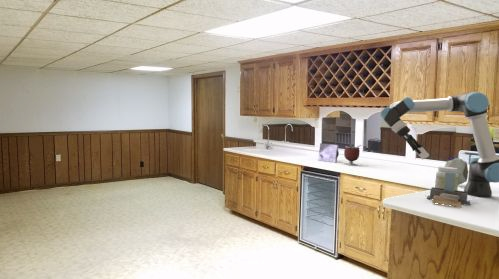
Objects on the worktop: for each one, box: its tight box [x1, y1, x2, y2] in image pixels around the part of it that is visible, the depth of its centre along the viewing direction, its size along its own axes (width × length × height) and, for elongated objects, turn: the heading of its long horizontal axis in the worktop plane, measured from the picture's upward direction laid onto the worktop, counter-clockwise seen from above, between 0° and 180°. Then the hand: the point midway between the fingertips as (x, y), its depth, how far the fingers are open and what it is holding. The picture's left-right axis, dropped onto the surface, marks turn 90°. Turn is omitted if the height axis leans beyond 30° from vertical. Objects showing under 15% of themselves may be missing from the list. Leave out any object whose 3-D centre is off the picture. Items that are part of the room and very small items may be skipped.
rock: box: [443, 157, 469, 186], centre depth 273 cm, size 27×6×20 cm, turn 1°
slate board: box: [444, 172, 456, 192], centre depth 213 cm, size 3×5×16 cm, turn 59°
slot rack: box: [426, 186, 471, 206], centre depth 213 cm, size 8×21×6 cm, turn 59°
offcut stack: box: [432, 193, 462, 208], centre depth 203 cm, size 8×13×5 cm, turn 59°
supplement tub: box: [434, 166, 459, 191], centre depth 230 cm, size 12×12×17 cm
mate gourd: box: [343, 144, 362, 167], centre depth 362 cm, size 16×14×20 cm
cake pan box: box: [318, 143, 340, 164], centre depth 380 cm, size 19×5×18 cm, turn 58°
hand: (426, 157), depth 219 cm, fingers open, 13 cm apart
